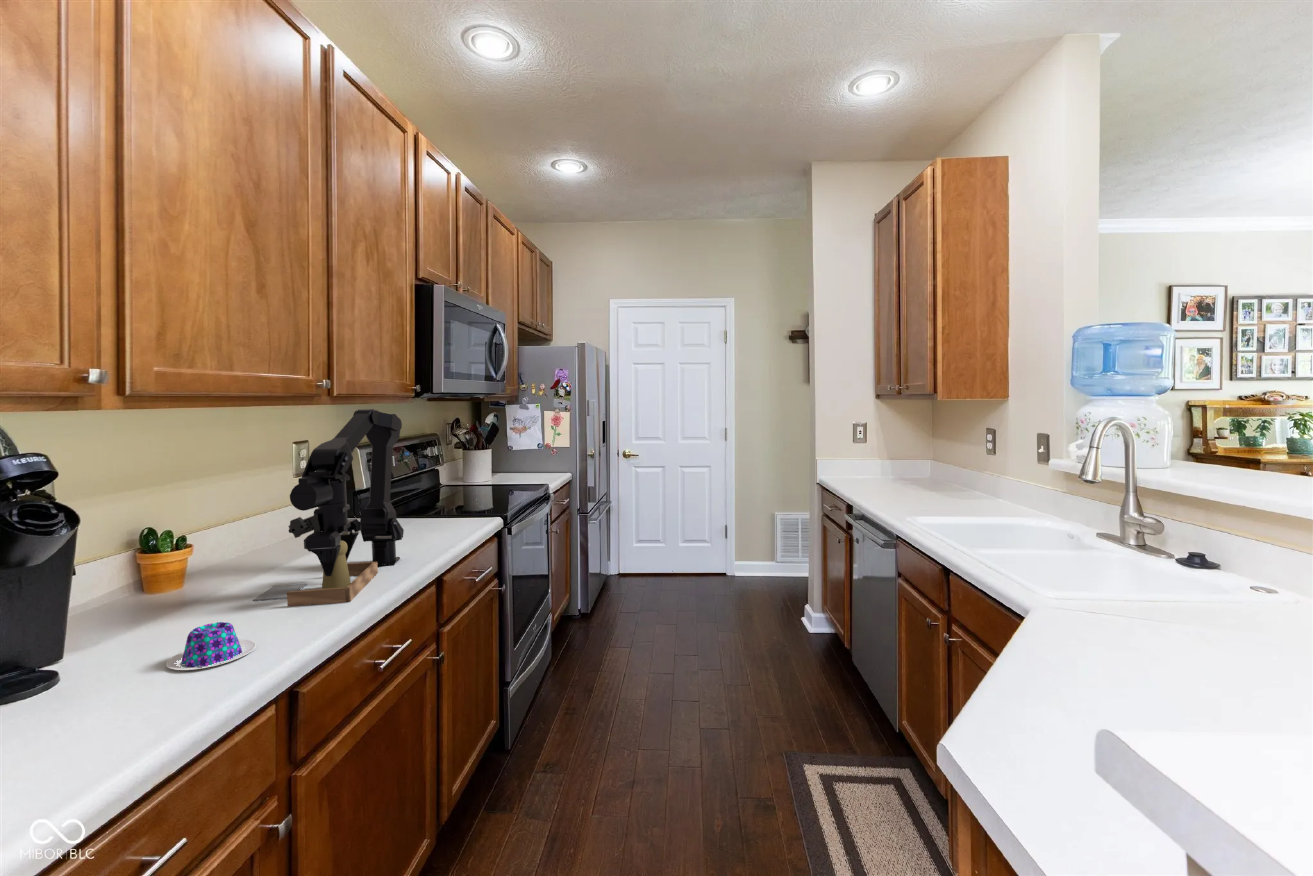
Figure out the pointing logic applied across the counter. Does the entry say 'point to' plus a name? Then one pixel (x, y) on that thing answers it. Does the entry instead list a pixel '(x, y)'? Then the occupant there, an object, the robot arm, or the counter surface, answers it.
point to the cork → (338, 571)
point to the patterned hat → (211, 646)
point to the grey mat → (279, 591)
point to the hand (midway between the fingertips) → (335, 570)
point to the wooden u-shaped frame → (336, 595)
